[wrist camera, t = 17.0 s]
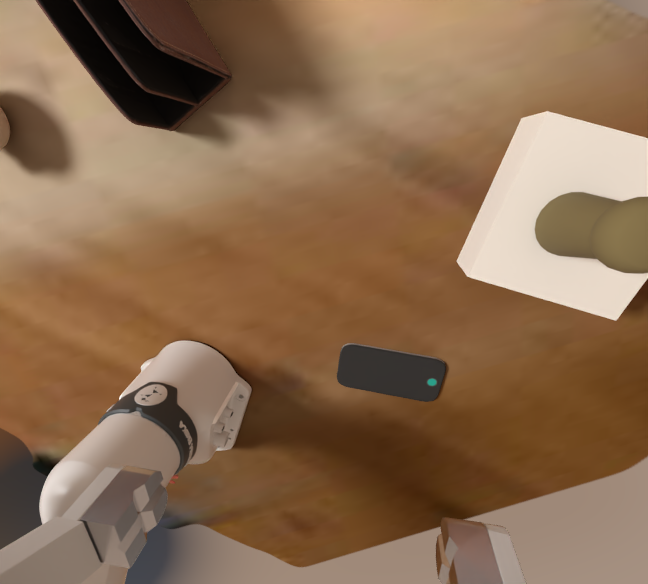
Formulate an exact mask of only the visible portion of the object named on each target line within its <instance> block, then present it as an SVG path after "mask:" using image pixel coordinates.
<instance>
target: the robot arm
mask: <svg viewBox="0 0 648 584" xmlns="http://www.w3.org/2000/svg"><path fill="white" fill-rule="evenodd" d="M141 371H142V372H141V373H140V374H139V375H138V376H137V378H136V379H135V380H134V381H133V382H132V383H131V384H130V385H129V386H128V388H127V389H126V390H125V391H124V392H123V393H122V394H121V396H120V398H119V401H118V402H117V403H116V404H113V405H112V406H111V407H110V408H109V409H108V410H107V413H106V414H105V415H104V416H103V417H102V418H101V419H100V421H99V423H98V426H97V427H96V428H95V429H94V430H93V431H92V432H91V433H89V434H88V435H87V436H86V437H85V438H84V439H83V440H82V441H81V442H80V443H79V444H78V445H77V446H76V447H75V448H74V449H73V450H72V451H71V452H70V453H69V454H67V455H66V456H65V457H64V458H63V459H62V460H61V461H60V462H59V463H58V464H57V465H56V466H55V467H54V468H53V469H52V471H51V472H50V474H49V476H48V477H47V479H46V482H45V484H44V487H43V489H42V493H41V498H40V505H39V506H40V515H41V520H42V524H43V525H41V526H40V527H38V528H36V529H35V530H33V531H31V532H29V533H28V534H26V535H25V536H23V537H21V538H20V539H18V540H16V541H15V542H13V543H11V544H10V545H8V546H6V547H4V548H3V549H1V550H0V584H124V583H125V578H126V574H127V570H128V568H131V566H132V565H133V563H134V562H135V560H136V558H137V556H138V555H139V553H140V552H141V550H142V548H143V547H144V545H145V544H146V542H147V532H148V531H149V530H151V529H152V528H153V527H155V526H156V525H157V524H158V522H159V520H160V519H161V517H162V515H163V513H164V510H165V507H166V504H167V491H166V489H165V488H166V486H167V485H168V483H169V482H170V483H175V482H174V481H172V480H171V478H178V476H177V475H175V474H177V473H178V472H179V471H180V470H181V469H182V468H183V467H185V466H186V465H187V464H202V463H205V462H207V461H209V460H210V459H211V457H212V456H213V454H214V453H215V451H220V450H228V449H231V448H232V447H233V445H234V443H235V441H236V438H237V435H238V432H239V429H240V426H241V422H242V419H243V416H244V413H245V410H246V407H247V404H248V401H249V398H250V395H251V391H252V389H251V386H250V385H249V384H248V383H247V382H246V381H244V380H243V379H242V378H241V377H239V376H238V375H237V373H236V372H235V370H234V369H233V367H232V366H231V364H230V363H229V362H228V361H227V360H226V359H225V358H224V357H223V356H222V355H221V354H220V353H219V352H217V351H216V350H214V349H213V348H211V347H209V346H207V345H204V344H202V343H199V342H194V341H177V342H174V343H171V344H169V345H167V346H166V347H165V348H163V349H162V351H161V352H160V353H159V354H158V355H157V356H156V357H155V358H152V359H149V360H147V361H146V362H145V363H144V364H143V365H142V366H141ZM242 395H243V396H242ZM440 526H441V532H442V534H440V535H439V536H438V538H437V543H436V563H437V572H438V579H439V580H440V582H441V583H442V584H526V581H525V578H524V575H523V572H522V569H521V567H520V564H519V561H518V558H517V555H516V552H515V549H514V547H513V544H512V541H511V538H510V535H509V532H508V531H507V530H506V528H504V527H503V526H497V525H491V524H484V523H481V522H474V521H467V520H460V519H453V518H447V517H444V518H443V519H442V521H441V525H440Z"/></svg>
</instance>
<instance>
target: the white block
mask: <svg viewBox="0 0 648 584" xmlns="http://www.w3.org/2000/svg"><path fill="white" fill-rule="evenodd" d="M570 192H585V193H589V194H593V195H597V196H601V197H605V198H610V199H614V200H618V201H625V200H629V199H632V198H636V197H648V138H645V137H641V136H637V135H634V134H630V133H626V132H622V131H619V130H615V129H611V128H608V127H604V126H600V125H596V124H593V123H589V122H585V121H581V120H578V119H574V118H570V117H567V116H563V115H559V114H555V113H552V112H548V111H547V112H543V113H539V114H535V115H532V116H528V117H524V118H522V119H521V121H520V123H519V125H518V127H517V130H516V132H515V134H514V136H513V138H512V141H511V143H510V145H509V147H508V149H507V152H506V154H505V156H504V158H503V160H502V163H501V165H500V167H499V169H498V171H497V174H496V176H495V178H494V180H493V182H492V185H491V187H490V189H489V191H488V193H487V196H486V198H485V200H484V202H483V204H482V207H481V209H480V211H479V213H478V215H477V218H476V220H475V222H474V224H473V226H472V229H471V231H470V233H469V235H468V237H467V240H466V242H465V244H464V246H463V248H462V250H461V253H460V255H459V257H458V259H457V263H458V264H459V266H460V267H461V268H462V270H463V271H464V272H465V274H466V275H467V277H470V278H473V279H477V280H480V281H484V282H487V283H490V284H494V285H497V286H501V287H504V288H507V289H511V290H514V291H518V292H521V293H524V294H528V295H531V296H534V297H538V298H541V299H545V300H548V301H551V302H555V303H558V304H562V305H565V306H568V307H572V308H575V309H578V310H582V311H585V312H589V313H592V314H595V315H599V316H602V317H606V318H609V319H612V320H617V319H618V318H619V316H620V315H621V314H622V312H623V311H624V309H625V308H626V307H627V305H628V304H629V303H630V301H631V300H632V299H633V297H634V296H635V295H636V293H637V292H638V291H639V289H640V288H641V287H642V285H643V284H644V283H645V281H646V280H647V278H648V273H644V274H634V273H623V272H620V271H617V270H614V269H611V268H608V267H607V266H605V265H604V264H603V263H601V262H600V261H599V260H598V259H590V258H578V257H567V256H557V255H554V254H551V253H549V252H547V251H546V250H545V249H543V248H542V247H541V246H540V244H539V243H538V241H537V239H536V235H535V224H536V219H537V217H538V215H539V213H540V212H541V210H542V209H543V208H544V207H545V206H546V205H547V204H548V203H549V202H550V201H551V200H553V199H555V198H556V197H558V196H560V195H563V194H566V193H570Z"/></svg>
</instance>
